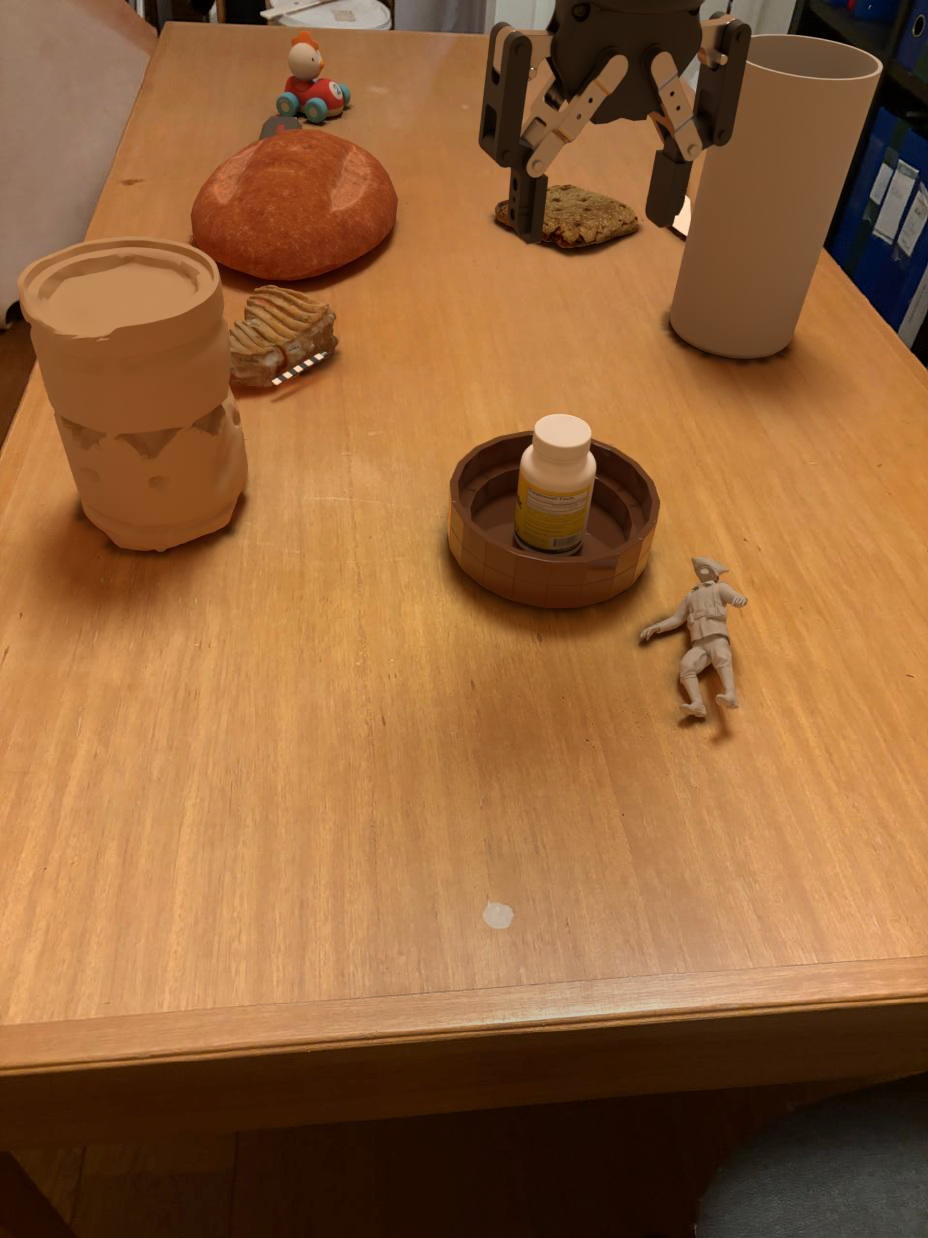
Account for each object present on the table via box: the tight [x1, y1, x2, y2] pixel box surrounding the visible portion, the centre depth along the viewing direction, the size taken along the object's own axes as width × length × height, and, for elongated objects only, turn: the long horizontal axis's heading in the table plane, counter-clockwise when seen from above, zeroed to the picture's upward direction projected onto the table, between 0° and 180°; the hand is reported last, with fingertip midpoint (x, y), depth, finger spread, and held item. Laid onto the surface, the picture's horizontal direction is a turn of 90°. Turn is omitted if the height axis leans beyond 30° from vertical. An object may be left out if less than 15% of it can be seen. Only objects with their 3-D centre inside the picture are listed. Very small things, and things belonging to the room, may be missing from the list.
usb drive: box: [258, 115, 303, 141], centre depth 122 cm, size 5×12×3 cm, turn 3°
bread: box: [190, 128, 399, 281], centre depth 104 cm, size 23×32×9 cm
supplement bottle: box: [514, 413, 596, 557], centre depth 67 cm, size 5×5×10 cm
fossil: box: [228, 284, 340, 388], centre depth 84 cm, size 12×6×9 cm
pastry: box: [494, 183, 639, 249], centre depth 111 cm, size 17×17×3 cm
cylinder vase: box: [669, 33, 884, 360], centre depth 86 cm, size 12×12×25 cm
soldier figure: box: [639, 556, 749, 718], centre depth 63 cm, size 8×5×12 cm
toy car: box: [275, 30, 351, 124], centre depth 130 cm, size 9×9×10 cm
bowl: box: [447, 430, 661, 609], centre depth 69 cm, size 15×15×5 cm
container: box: [16, 235, 251, 553], centre depth 66 cm, size 13×13×18 cm
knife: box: [671, 194, 692, 237], centre depth 118 cm, size 26×4×1 cm, turn 171°
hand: (594, 229), depth 54 cm, fingers open, 8 cm apart
